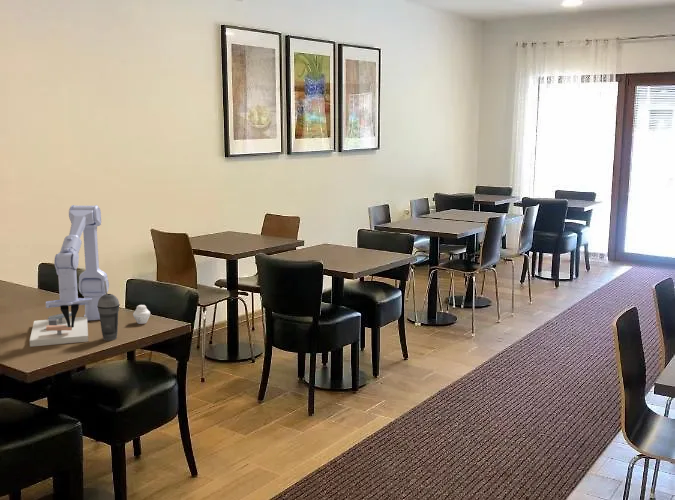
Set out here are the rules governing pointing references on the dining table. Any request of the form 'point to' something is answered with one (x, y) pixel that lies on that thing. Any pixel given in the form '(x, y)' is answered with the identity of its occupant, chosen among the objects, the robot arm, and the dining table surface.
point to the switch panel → (59, 332)
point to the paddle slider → (53, 321)
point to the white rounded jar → (141, 314)
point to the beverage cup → (108, 315)
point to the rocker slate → (58, 316)
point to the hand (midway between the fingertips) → (70, 326)
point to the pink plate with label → (58, 327)
